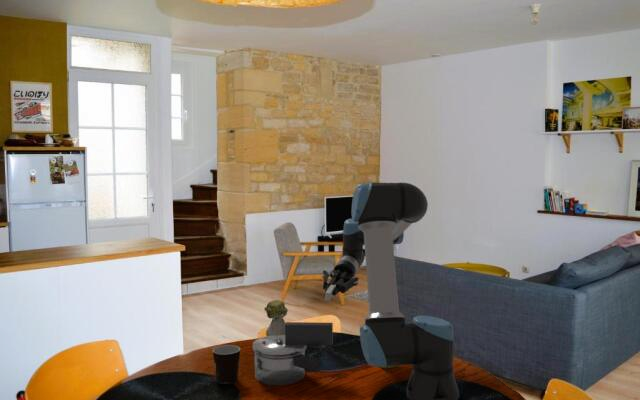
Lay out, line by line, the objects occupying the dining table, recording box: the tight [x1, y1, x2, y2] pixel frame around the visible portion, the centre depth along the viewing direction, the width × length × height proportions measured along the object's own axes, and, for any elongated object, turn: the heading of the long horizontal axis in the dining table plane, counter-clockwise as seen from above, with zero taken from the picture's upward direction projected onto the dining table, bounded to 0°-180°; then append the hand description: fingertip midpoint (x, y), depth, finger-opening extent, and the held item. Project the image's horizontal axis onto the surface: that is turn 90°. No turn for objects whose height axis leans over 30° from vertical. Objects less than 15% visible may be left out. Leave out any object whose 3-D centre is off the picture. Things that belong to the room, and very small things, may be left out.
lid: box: [252, 321, 334, 356], centre depth 188 cm, size 26×17×8 cm
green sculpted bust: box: [264, 299, 289, 337], centre depth 212 cm, size 14×20×16 cm
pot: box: [253, 349, 323, 386], centre depth 187 cm, size 28×17×9 cm, turn 48°
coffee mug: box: [212, 344, 241, 384], centre depth 186 cm, size 12×9×10 cm
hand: (327, 296), depth 188 cm, fingers closed
